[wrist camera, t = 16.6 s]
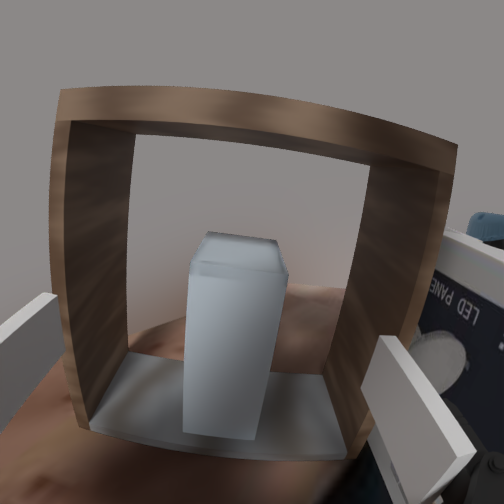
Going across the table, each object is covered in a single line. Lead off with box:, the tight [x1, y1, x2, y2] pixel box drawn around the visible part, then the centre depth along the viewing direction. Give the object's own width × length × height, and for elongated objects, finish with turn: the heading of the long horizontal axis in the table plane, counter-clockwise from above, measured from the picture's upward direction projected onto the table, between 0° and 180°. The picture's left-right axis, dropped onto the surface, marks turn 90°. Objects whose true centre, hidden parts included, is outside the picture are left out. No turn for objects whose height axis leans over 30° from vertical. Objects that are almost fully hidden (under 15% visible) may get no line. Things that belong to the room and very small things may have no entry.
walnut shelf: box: [49, 86, 458, 461], centre depth 24 cm, size 24×12×26 cm, turn 91°
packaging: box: [367, 226, 504, 504], centre depth 23 cm, size 30×6×20 cm, turn 2°
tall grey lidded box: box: [183, 231, 289, 440], centre depth 26 cm, size 6×9×15 cm, turn 1°
